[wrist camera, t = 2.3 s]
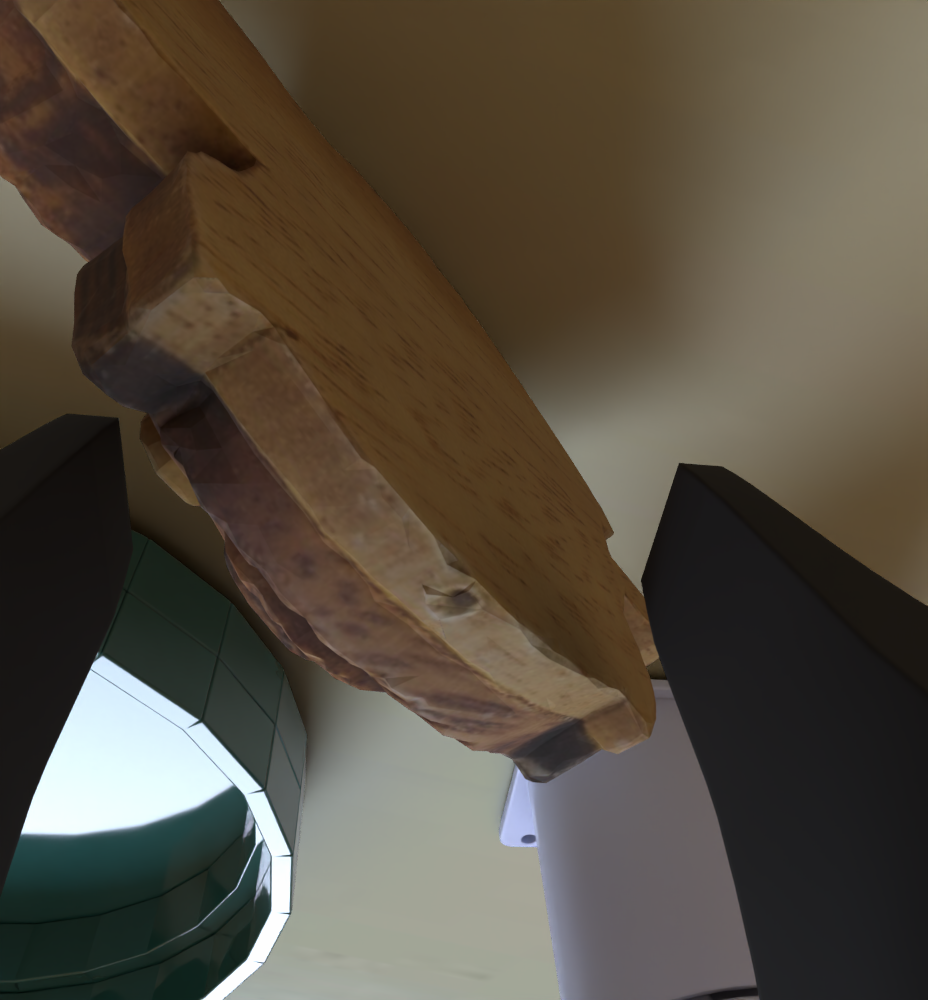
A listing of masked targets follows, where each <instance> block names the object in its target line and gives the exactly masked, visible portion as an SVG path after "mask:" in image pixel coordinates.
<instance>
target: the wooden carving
mask: <svg viewBox="0 0 928 1000" xmlns="http://www.w3.org/2000/svg"><path fill="white" fill-rule="evenodd" d="M0 176H1V177H2V178H3V179H5V180H7V181H8V182H10V183H11V184H13V185H14V186H16V188H17V190H18V191H19V193H20V195H21V196H22V198H23V199H24V201H25V202H26V203H27V205H28V206H29V208H30V209H31V211H32V212H33V213H34V215H35V216H36V218H37V219H38V221H39V222H40V223H41V225H43V226H44V227H45V228H47V229H48V230H50V231H51V232H53V233H54V234H55V235H57V236H58V237H60V238H61V239H63V240H64V241H66V242H67V243H69V244H70V245H71V246H72V247H73V248H74V249H75V250H76V251H77V252H78V253H79V254H80V255H81V256H82V257H83V258H84V259H85V260H86V261H87V262H88V263H87V264H85V265H84V266H83V267H82V268H81V270H80V271H79V273H78V274H77V280H76V287H75V293H74V330H73V338H72V348H73V351H74V353H75V356H76V358H77V361H78V363H79V366H80V368H81V371H82V373H83V374H84V375H85V376H86V377H87V378H88V379H89V380H90V381H92V382H93V383H94V384H95V385H96V386H97V387H98V388H100V389H101V390H102V391H103V392H104V393H105V394H107V395H108V396H109V397H111V398H112V399H114V400H115V401H116V402H118V403H119V404H120V405H122V406H123V407H127V408H131V409H135V410H138V411H142V412H146V413H147V414H146V416H145V417H144V418H143V419H142V421H141V428H140V440H141V442H142V444H143V446H144V449H145V451H146V453H147V455H148V457H149V460H150V462H151V464H152V466H153V468H154V470H155V473H156V474H157V475H158V476H159V477H160V478H161V479H162V480H163V481H164V482H165V483H166V484H167V485H168V486H169V487H170V488H171V489H172V490H173V491H174V492H175V493H176V494H177V495H178V496H179V497H181V498H182V499H183V500H184V501H185V502H186V503H188V504H190V505H192V506H201V507H202V508H203V509H204V510H205V511H206V512H207V513H208V514H209V515H210V516H211V518H212V520H213V521H214V523H215V525H216V527H217V528H218V530H219V532H220V534H221V535H222V537H223V539H224V541H225V544H224V555H225V560H226V565H227V568H228V570H229V572H230V574H231V576H232V578H233V579H234V581H235V583H236V585H237V586H238V588H239V589H240V591H241V593H242V594H243V596H244V597H245V599H246V601H247V602H248V604H249V605H250V606H251V607H252V609H253V610H254V611H255V612H256V613H257V614H258V616H259V617H260V618H261V619H262V620H263V621H264V623H265V624H266V625H267V626H268V627H269V629H270V630H271V631H272V632H273V633H274V634H275V635H276V637H277V638H278V639H279V640H280V641H281V642H282V643H283V644H284V645H285V646H286V647H287V648H288V650H289V651H291V652H293V653H294V654H296V655H298V656H300V657H302V658H304V659H306V660H309V661H314V662H315V663H317V664H318V665H319V666H321V667H322V668H323V669H325V670H326V671H327V672H328V673H329V674H331V675H332V676H333V677H334V678H335V679H337V680H340V681H342V682H344V683H346V684H349V685H351V686H353V687H355V688H358V689H360V690H368V691H378V692H386V693H387V694H388V695H389V696H391V697H392V698H394V699H395V700H397V701H398V702H399V703H401V704H402V705H404V706H405V707H406V708H408V709H409V710H411V711H412V712H414V713H416V714H417V715H418V716H420V717H421V718H422V719H423V720H425V721H426V722H427V723H428V724H430V725H431V726H432V727H433V728H435V729H436V730H437V731H438V732H440V733H441V734H442V735H444V736H448V737H451V738H454V739H456V740H458V741H459V742H461V743H462V744H464V745H465V746H467V747H468V748H470V749H471V750H473V751H488V752H490V753H501V754H503V755H505V756H507V757H509V758H511V759H512V760H513V761H514V763H515V764H516V766H517V767H518V769H519V770H520V772H521V773H522V775H523V776H524V778H525V779H526V780H529V781H531V782H535V783H547V782H549V781H551V780H553V779H554V778H556V777H558V776H559V775H561V774H563V773H565V772H566V771H568V770H570V769H571V768H573V767H575V766H577V765H578V764H580V763H582V762H583V761H585V760H586V759H588V758H589V757H591V756H593V755H594V754H596V753H597V752H599V751H600V750H606V751H609V752H612V753H615V754H619V753H621V752H623V751H625V750H627V749H629V748H631V747H633V746H635V745H637V744H639V743H641V742H643V741H645V740H647V739H649V738H650V736H651V734H652V731H653V727H654V724H655V721H656V701H655V695H654V690H653V687H652V683H651V679H650V676H649V673H648V671H647V668H646V666H648V665H650V664H651V663H653V662H654V661H655V660H657V659H658V658H659V655H658V652H657V650H656V647H655V644H654V640H653V636H652V631H651V627H650V623H649V618H648V614H647V609H646V604H645V598H644V597H643V595H642V594H641V593H640V592H639V590H638V589H637V588H636V587H635V585H634V584H633V583H632V582H631V580H630V579H629V578H628V577H627V575H626V574H625V573H624V572H623V571H622V569H621V568H620V567H619V566H618V565H617V563H616V562H615V561H614V560H613V559H612V558H611V555H610V553H609V551H608V547H607V543H606V539H608V538H609V537H611V536H612V535H613V533H614V532H613V530H612V528H611V526H610V524H609V522H608V520H607V518H606V516H605V514H604V512H603V510H602V508H601V507H600V505H599V504H598V502H597V501H596V499H595V498H594V496H593V494H592V492H591V491H590V489H589V487H588V485H587V484H586V482H585V481H584V479H583V478H582V476H581V474H580V473H579V471H578V470H577V468H576V467H575V465H574V463H573V462H572V460H571V459H570V457H569V456H568V454H567V453H566V451H565V450H564V448H563V447H562V445H561V444H560V442H559V440H558V439H557V437H556V436H555V434H554V433H553V431H552V430H551V428H550V427H549V425H548V424H547V422H546V421H545V419H544V418H543V416H542V415H541V413H540V412H539V410H538V409H537V407H536V406H535V404H534V403H533V401H532V400H531V398H530V397H529V395H528V394H527V392H526V391H525V389H524V388H523V386H522V385H521V383H520V382H519V380H518V379H517V377H516V376H515V374H514V373H513V372H512V370H511V369H510V367H509V366H508V364H507V363H506V361H505V360H504V358H503V357H502V355H501V354H500V352H499V351H498V349H497V348H496V347H495V345H494V344H493V342H492V341H491V339H490V338H489V336H488V335H487V333H486V332H485V331H484V329H483V328H482V326H481V325H480V323H479V322H478V321H477V319H476V318H475V317H474V316H473V314H472V313H471V311H470V310H469V309H468V307H467V306H466V304H465V303H464V301H463V300H462V298H461V297H460V295H459V294H458V293H457V292H456V291H455V289H454V288H453V287H452V286H451V284H450V283H449V282H448V281H447V279H446V278H445V277H444V276H443V275H442V273H441V272H440V271H439V270H438V268H437V267H436V265H435V264H434V262H433V261H432V260H431V258H430V257H429V255H428V254H427V253H426V251H425V250H424V249H423V248H422V246H421V245H420V244H419V243H418V241H417V240H416V239H415V237H414V236H413V235H412V234H411V232H410V231H409V230H408V229H407V228H406V226H405V225H404V224H403V223H402V222H401V221H400V219H399V218H398V217H397V216H396V215H395V213H394V212H393V211H392V210H391V209H390V208H389V206H388V205H387V204H386V203H385V202H384V201H383V200H382V199H381V198H380V196H379V195H378V194H377V193H376V192H375V191H374V190H373V189H372V187H371V186H370V185H369V184H368V183H367V182H366V181H365V179H364V178H363V177H362V176H361V175H360V174H359V172H358V171H357V170H356V169H355V168H354V167H353V166H352V165H351V164H350V163H349V162H348V161H347V160H346V159H345V158H344V157H342V156H341V155H340V154H339V153H338V152H337V151H336V150H335V149H334V148H333V147H332V146H331V145H330V144H329V143H328V142H327V140H326V139H325V138H324V137H323V135H322V134H321V133H320V132H319V131H318V129H317V128H316V127H315V126H314V125H313V123H312V122H311V121H310V120H309V119H308V117H307V116H306V115H305V114H304V112H303V111H302V110H301V108H300V107H299V106H298V105H297V103H296V102H295V101H294V99H293V98H292V97H291V95H290V94H289V93H288V91H287V90H286V89H285V88H284V86H283V85H282V83H281V82H280V81H279V79H278V78H277V76H276V75H275V74H274V72H273V71H272V69H271V68H270V67H269V65H268V64H267V62H266V61H265V60H264V58H263V57H262V55H261V54H260V53H259V51H258V50H257V48H256V47H255V46H254V45H253V43H252V42H251V41H250V40H249V38H248V37H247V36H246V34H245V33H244V32H243V31H242V29H241V28H240V27H239V26H238V24H237V23H236V22H235V20H234V19H233V18H232V17H231V15H230V14H229V13H228V11H227V10H226V9H225V8H224V6H223V5H222V4H221V3H220V1H219V0H0Z"/></svg>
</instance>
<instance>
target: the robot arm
mask: <svg viewBox="0 0 928 1000" xmlns="http://www.w3.org/2000/svg"><path fill="white" fill-rule="evenodd" d="M132 552H133V543H132V534H131V525H130V516H129V507H128V498H127V489H126V480H125V471H124V462H123V453H122V444H121V435H120V426H119V418H114V417H101V416H89V415H76V414H66V415H63V416H61V417H59V418H57V419H55V420H53V421H51V422H49V423H47V424H45V425H43V426H41V427H40V428H38V429H36V430H34V431H33V432H31V433H29V434H27V435H25V436H24V437H22V438H20V439H19V440H17V441H15V442H13V443H12V444H10V445H8V446H7V447H5V448H3V449H1V450H0V897H1V894H2V890H3V887H4V884H5V881H6V877H7V874H8V871H9V868H10V865H11V862H12V859H13V856H14V853H15V850H16V847H17V844H18V841H19V838H20V835H21V832H22V829H23V826H24V823H25V820H26V817H27V814H28V811H29V808H30V805H31V802H32V799H33V797H34V794H35V792H36V789H37V787H38V784H39V782H40V779H41V777H42V775H43V772H44V770H45V767H46V765H47V762H48V760H49V758H50V756H51V754H52V752H53V749H54V747H55V745H56V743H57V741H58V738H59V736H60V734H61V732H62V730H63V728H64V725H65V723H66V721H67V719H68V717H69V715H70V712H71V710H72V708H73V706H74V704H75V701H76V699H77V697H78V695H79V693H80V691H81V688H82V686H83V684H84V682H85V680H86V678H87V675H88V673H89V671H90V669H91V667H92V664H93V662H94V660H95V658H96V655H97V653H98V651H99V649H100V647H101V644H102V642H103V640H104V638H105V635H106V633H107V631H108V629H109V626H110V624H111V622H112V619H113V617H114V615H115V611H116V608H117V605H118V601H119V598H120V595H121V592H122V588H123V585H124V581H125V578H126V574H127V570H128V567H129V563H130V559H131V556H132ZM641 583H642V588H643V593H644V598H645V604H646V609H647V614H648V618H649V623H650V627H651V631H652V636H653V640H654V644H655V647H656V650H657V652H658V655H659V658H660V661H661V664H662V666H663V669H664V672H665V675H666V677H667V680H655V679H651V683H652V687H653V690H654V695H655V701H656V721H655V724H654V727H653V731H652V734H651V736H650V738H649V739H647V740H645V741H643V742H641V743H639V744H637V745H635V746H633V747H631V748H629V749H627V750H625V751H623V752H621V753H619V754H615V753H612V752H609V751H606V750H600V751H599V752H597V753H596V754H594V755H593V756H591V757H589V758H588V759H586V760H585V761H583V762H582V763H580V764H578V765H577V766H575V767H573V768H571V769H570V770H568V771H566V772H565V773H563V774H561V775H559V776H558V777H556V778H554V779H553V780H551V781H549V782H547V783H535V782H531V781H529V780H526V779H525V778H524V776H523V775H522V773H521V772H520V770H519V769H518V767H517V766H516V764H515V768H514V772H513V776H512V780H511V784H510V788H509V792H508V796H507V800H506V803H505V807H504V811H503V815H502V819H501V823H500V827H499V836H500V841H501V842H502V844H504V845H506V846H511V847H537V849H538V855H539V862H540V868H541V875H542V881H543V888H544V894H545V900H546V907H547V913H548V920H549V926H550V933H551V939H552V946H553V952H554V958H555V965H556V971H557V978H558V984H559V991H560V997H561V1000H928V606H926V605H925V604H923V603H921V602H920V601H918V600H917V599H915V598H913V597H912V596H910V595H909V594H907V593H906V592H904V591H903V590H901V589H900V588H898V587H896V586H895V585H893V584H892V583H890V582H889V581H887V580H886V579H884V578H883V577H881V576H880V575H878V574H876V573H875V572H873V571H872V570H870V569H869V568H868V567H866V566H865V565H863V564H862V563H860V562H859V561H857V560H856V559H854V558H853V557H852V556H850V555H849V554H847V553H846V552H844V551H843V550H842V549H840V548H839V547H837V546H836V545H834V544H833V543H832V542H830V541H829V540H827V539H826V538H825V537H823V536H822V535H821V534H819V533H818V532H816V531H815V530H814V529H812V528H811V527H809V526H808V525H807V524H805V523H804V522H803V521H801V520H800V519H799V518H797V517H796V516H794V515H793V514H792V513H790V512H789V511H788V510H786V509H785V508H783V507H782V506H781V505H779V504H778V503H777V502H775V501H774V500H772V499H771V498H770V497H768V496H767V495H766V494H764V493H763V492H761V491H760V490H758V489H757V488H756V487H754V486H753V485H751V484H750V483H748V482H747V481H745V480H744V479H742V478H741V477H739V476H738V475H736V474H734V473H733V472H731V471H729V470H727V469H726V468H724V467H721V466H709V465H697V464H684V463H679V465H678V468H677V471H676V474H675V477H674V480H673V483H672V486H671V490H670V493H669V496H668V499H667V502H666V505H665V508H664V511H663V514H662V517H661V520H660V523H659V526H658V530H657V533H656V536H655V539H654V542H653V545H652V548H651V551H650V554H649V557H648V560H647V563H646V567H645V570H644V573H643V576H642V579H641Z"/></svg>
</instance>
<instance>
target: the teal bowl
mask: <svg viewBox="0 0 928 1000" xmlns="http://www.w3.org/2000/svg"><path fill="white" fill-rule="evenodd" d="M131 534H132V543H133V552H132V556H131V559H130V563H129V567H128V570H127V574H126V578H125V581H124V585H123V588H122V592H121V595H120V598H119V601H118V605H117V608H116V611H115V615H114V617H113V619H112V622H111V624H110V626H109V629H108V631H107V633H106V635H105V638H104V640H103V642H102V644H101V647H100V649H99V651H98V653H97V655H96V658H95V660H94V662H93V664H92V667H91V669H90V671H89V673H88V675H87V678H86V680H85V682H84V684H83V686H82V688H81V691H80V693H79V695H78V697H77V699H76V701H75V704H74V706H73V708H72V710H71V712H70V715H69V717H68V719H67V721H66V723H65V725H64V728H63V730H62V732H61V734H60V736H59V738H58V741H57V743H56V745H55V747H54V749H53V752H52V754H51V756H50V758H49V760H48V762H47V765H46V767H45V770H44V772H43V775H42V777H41V779H40V782H39V784H38V787H37V789H36V792H35V794H34V797H33V799H32V802H31V805H30V808H29V811H28V814H27V817H26V820H25V823H24V826H23V829H22V832H21V835H20V838H19V841H18V844H17V847H16V850H15V853H14V856H13V859H12V862H11V865H10V868H9V871H8V874H7V877H6V881H5V884H4V887H3V890H2V894H1V897H0V1000H223V999H225V998H226V997H227V996H228V995H229V994H230V993H231V992H232V991H234V990H235V989H236V988H237V987H238V986H239V985H240V984H242V983H243V982H244V981H245V980H246V979H247V978H248V977H249V976H251V975H252V974H253V973H254V972H255V971H256V970H257V969H259V968H260V967H261V966H262V965H263V964H264V962H266V960H267V958H268V956H269V955H270V953H271V951H272V949H273V947H274V945H275V943H276V941H277V939H278V937H279V936H280V934H281V932H282V930H283V928H284V926H285V924H286V922H287V920H288V918H289V917H290V915H291V911H292V906H293V897H294V887H295V878H296V869H297V860H298V850H299V841H300V832H301V823H302V814H303V804H304V795H305V777H306V754H307V733H306V730H305V727H304V725H303V722H302V719H301V716H300V713H299V711H298V708H297V705H296V702H295V699H294V697H293V694H292V691H291V688H290V686H289V683H288V680H287V677H286V674H285V672H284V670H283V667H282V666H281V665H280V664H279V662H278V661H277V660H276V658H275V657H274V656H273V655H272V653H271V652H270V651H269V649H268V648H267V647H266V645H265V644H264V643H263V642H262V640H261V639H260V638H259V636H258V635H257V634H256V633H255V631H254V630H253V629H252V627H251V626H250V625H249V624H248V622H247V621H246V620H245V618H244V617H243V616H242V615H241V613H240V612H239V611H238V609H237V608H236V607H235V606H234V604H233V603H231V602H230V600H228V599H227V598H226V597H224V596H223V595H222V594H221V593H219V592H218V591H217V590H215V589H214V588H213V587H212V586H210V585H209V584H208V583H206V582H205V581H204V580H203V579H201V578H200V577H199V576H197V575H196V574H195V573H194V572H192V571H191V570H190V569H188V568H187V567H186V566H185V565H183V564H182V563H181V562H179V561H178V560H177V559H176V558H174V557H173V556H172V555H170V554H169V553H168V552H167V551H165V550H164V549H163V548H161V547H160V546H159V545H158V544H156V543H155V542H154V541H152V540H151V539H149V540H148V538H147V537H146V536H144V535H142V534H140V533H138V532H136V531H134V530H132V529H131Z"/></svg>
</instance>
